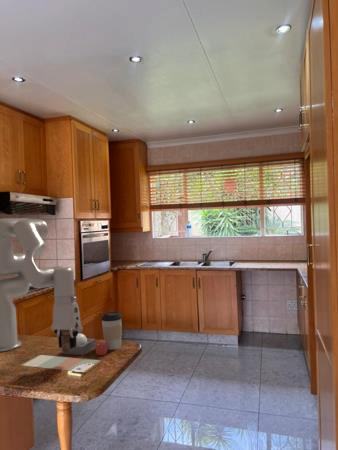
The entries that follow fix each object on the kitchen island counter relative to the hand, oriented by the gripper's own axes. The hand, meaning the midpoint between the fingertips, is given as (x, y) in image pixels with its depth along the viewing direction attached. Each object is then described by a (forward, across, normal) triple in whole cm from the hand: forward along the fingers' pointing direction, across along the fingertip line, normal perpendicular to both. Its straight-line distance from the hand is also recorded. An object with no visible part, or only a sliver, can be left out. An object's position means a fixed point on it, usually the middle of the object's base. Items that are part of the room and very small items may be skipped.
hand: (67, 346), depth 136 cm
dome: (+7, +5, -14) cm, 16 cm away
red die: (+7, -6, -14) cm, 17 cm away
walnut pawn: (+1, 0, 0) cm, 1 cm away
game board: (+7, +4, 0) cm, 8 cm away
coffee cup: (+7, -7, -22) cm, 24 cm away
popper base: (+7, +5, -14) cm, 17 cm away
